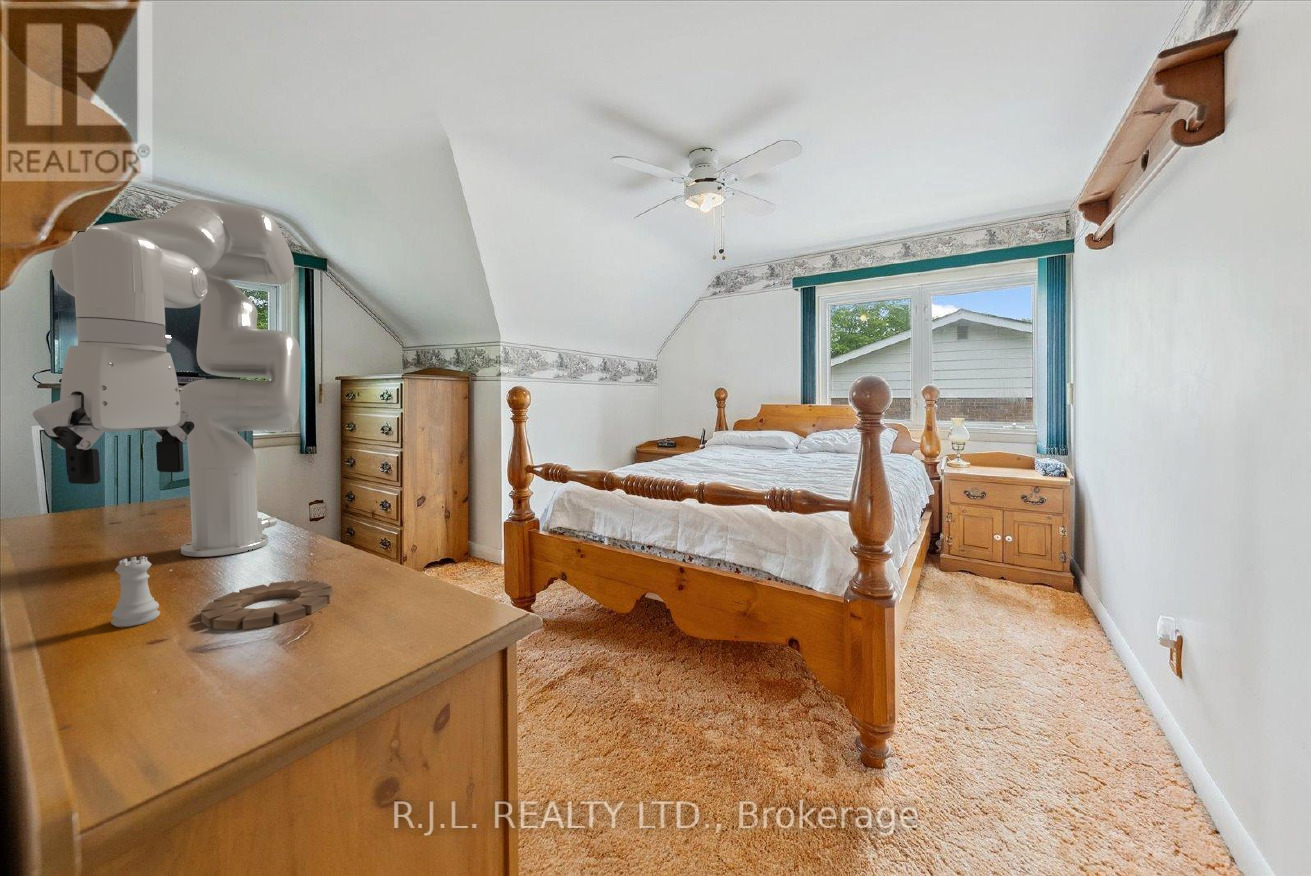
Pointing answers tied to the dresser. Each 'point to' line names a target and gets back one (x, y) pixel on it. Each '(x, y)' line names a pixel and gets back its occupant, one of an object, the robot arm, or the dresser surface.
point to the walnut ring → (234, 615)
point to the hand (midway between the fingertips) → (130, 477)
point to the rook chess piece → (134, 594)
